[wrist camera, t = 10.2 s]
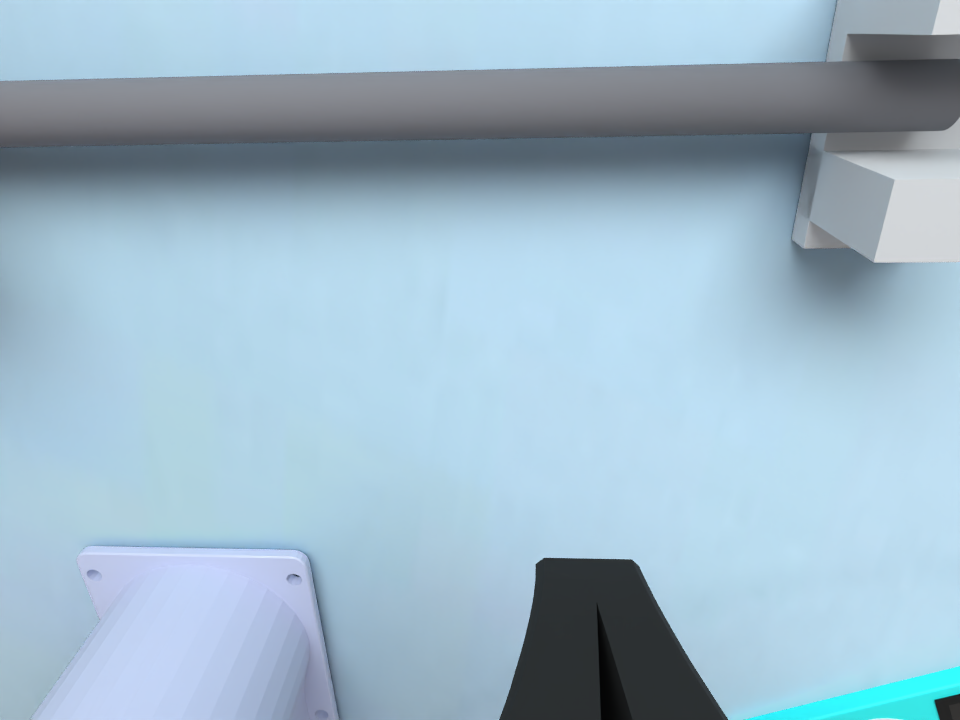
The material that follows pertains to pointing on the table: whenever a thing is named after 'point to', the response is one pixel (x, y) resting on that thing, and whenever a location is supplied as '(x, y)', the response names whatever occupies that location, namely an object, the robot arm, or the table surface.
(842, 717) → the handheld game console
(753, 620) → the table surface
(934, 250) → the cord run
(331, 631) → the table surface
